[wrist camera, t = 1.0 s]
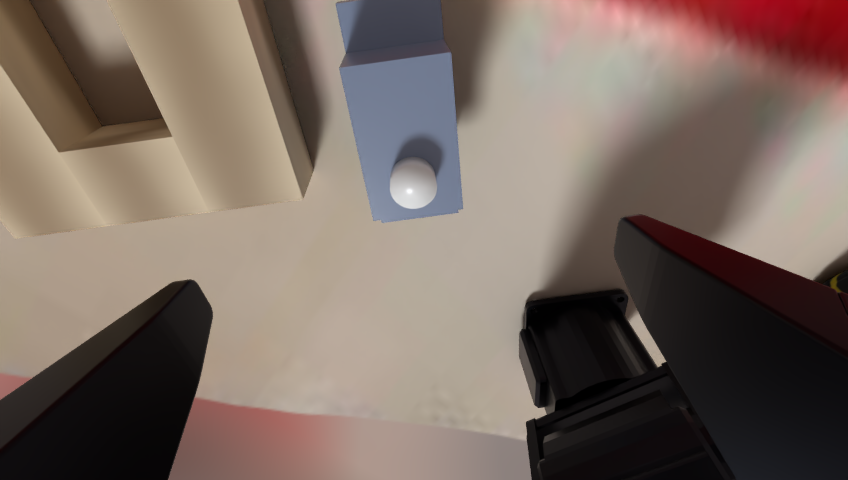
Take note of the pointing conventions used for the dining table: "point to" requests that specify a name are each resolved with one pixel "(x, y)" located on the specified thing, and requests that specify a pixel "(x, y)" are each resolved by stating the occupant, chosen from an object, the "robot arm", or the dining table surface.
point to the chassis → (148, 121)
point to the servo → (402, 106)
